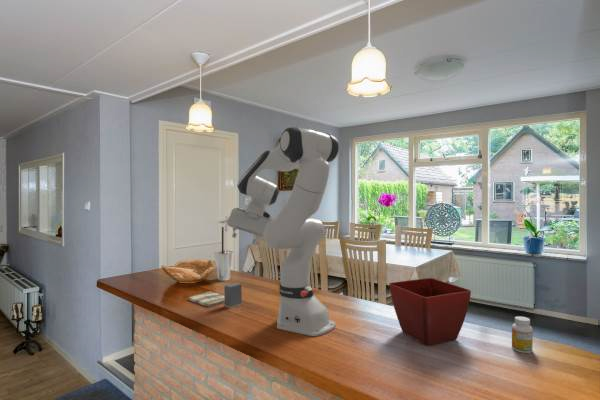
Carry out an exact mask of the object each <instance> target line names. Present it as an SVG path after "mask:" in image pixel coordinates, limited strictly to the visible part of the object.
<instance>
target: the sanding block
mask: <svg viewBox="0 0 600 400" xmlns="http://www.w3.org/2000/svg"><path fill="white" fill-rule="evenodd" d="M223 288H224V296H225V303H224V307H225V308H228V309H233V308H236V307H240V306H241V305H242V303H243V301H242V297H243V296H242V289H243V288H242V283H239V282H232V283H228V284H224V287H223Z"/></svg>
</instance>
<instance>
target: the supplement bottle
mask: <svg viewBox="0 0 600 400" xmlns="http://www.w3.org/2000/svg"><path fill="white" fill-rule="evenodd" d="M533 338H534V337H533V327H532V326H531V319H530V318H529V317H526V316H515V317H514V322H513V323H512V325H511V349H512V350H514V351H515V352H517V353H518V352H519V353H520V354H521V353H523V354H531V353H532V352H533Z"/></svg>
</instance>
